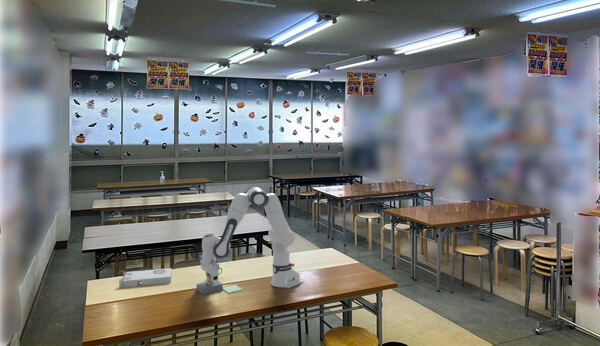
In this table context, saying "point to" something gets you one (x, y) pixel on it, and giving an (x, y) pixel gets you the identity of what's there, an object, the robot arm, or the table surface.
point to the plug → (209, 280)
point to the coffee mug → (218, 270)
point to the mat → (231, 289)
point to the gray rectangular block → (209, 287)
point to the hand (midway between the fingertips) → (209, 279)
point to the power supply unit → (146, 277)
